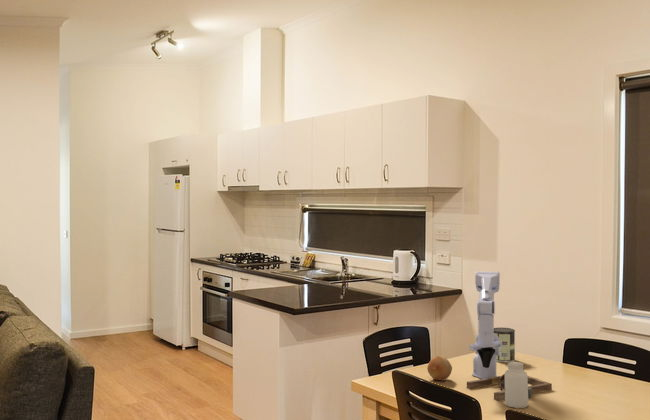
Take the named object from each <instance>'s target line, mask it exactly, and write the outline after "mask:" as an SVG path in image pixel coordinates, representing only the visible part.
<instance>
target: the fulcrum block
mask: <svg viewBox="0 0 650 420" xmlns="http://www.w3.org/2000/svg"><path fill="white" fill-rule="evenodd" d="M531 398H532V394H531V387H528V399H531Z"/></svg>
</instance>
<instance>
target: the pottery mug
mask: <svg viewBox="0 0 650 420" xmlns="http://www.w3.org/2000/svg"><path fill="white" fill-rule="evenodd" d="M500 376H501V377H500V379H499V380H500V384H499V389H500V391H503V390H505V382H502V380H503V379H504V378H505V373H503V374H502V375H500Z"/></svg>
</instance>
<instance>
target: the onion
mask: <svg viewBox="0 0 650 420" xmlns="http://www.w3.org/2000/svg"><path fill="white" fill-rule="evenodd" d="M452 371H453V366H452V363H451V362H450V361H449V359H447V357H445V356H443V355H435V356H434V357H432V358H431V359H430V361H429V362H428V364H427V373H428V374H429V376H430V377H431V378H432V379H433V380H435V381H436V380H437V381H445V380H447V379H448V378H449V377H450V376H451V374H452Z"/></svg>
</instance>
